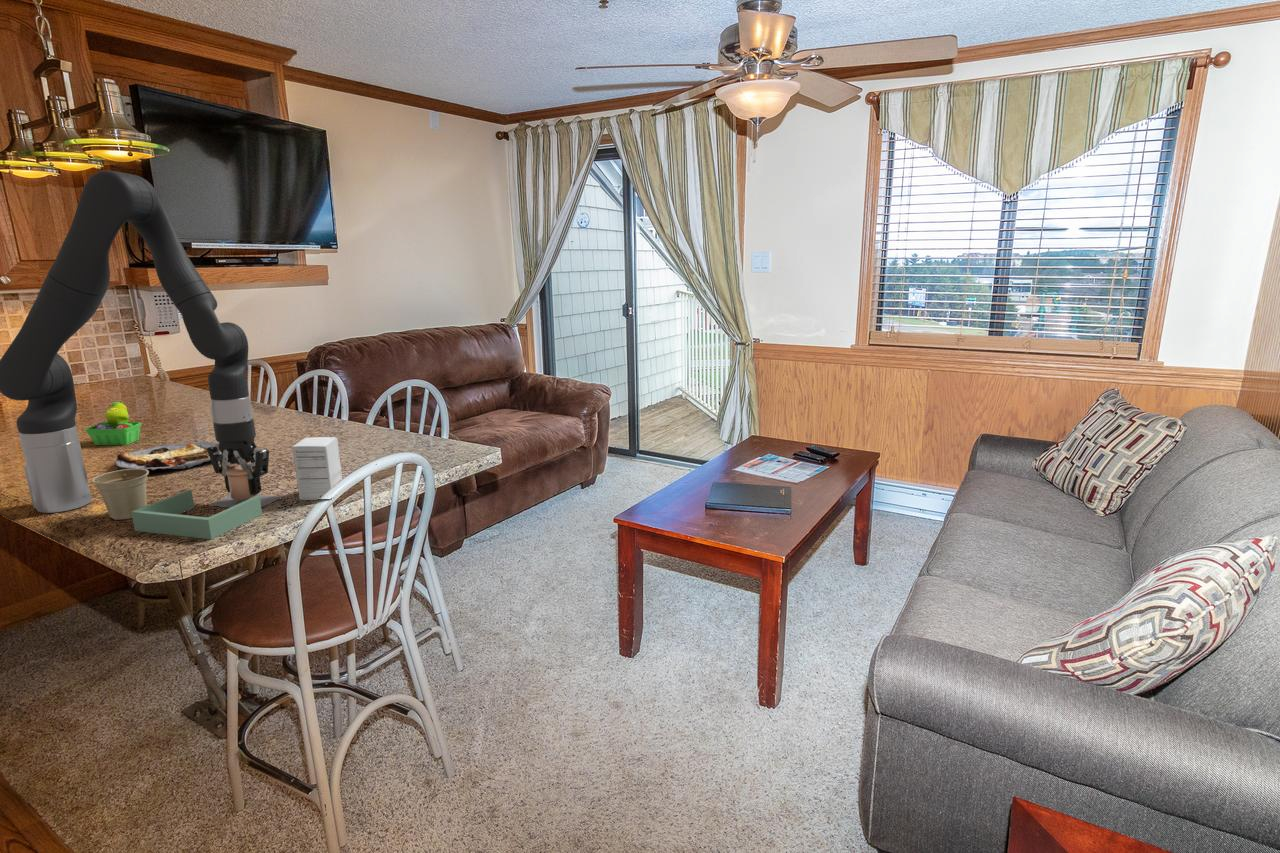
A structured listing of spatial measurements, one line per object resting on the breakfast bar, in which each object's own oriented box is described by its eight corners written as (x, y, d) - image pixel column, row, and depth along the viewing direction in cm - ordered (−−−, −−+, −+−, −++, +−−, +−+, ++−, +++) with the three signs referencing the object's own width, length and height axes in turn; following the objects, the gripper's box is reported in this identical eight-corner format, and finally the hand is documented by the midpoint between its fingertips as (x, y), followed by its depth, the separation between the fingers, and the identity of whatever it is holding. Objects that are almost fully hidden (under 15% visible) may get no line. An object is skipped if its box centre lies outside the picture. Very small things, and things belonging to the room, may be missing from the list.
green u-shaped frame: (134, 530, 133) (131, 511, 132) (190, 507, 146) (187, 489, 145) (211, 539, 129) (208, 520, 128) (262, 514, 142) (259, 496, 141)
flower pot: (99, 527, 135) (90, 486, 133) (100, 512, 142) (92, 473, 140) (156, 516, 140) (149, 477, 138) (155, 503, 148) (148, 465, 145)
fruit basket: (86, 446, 190) (78, 407, 187) (109, 438, 198) (101, 400, 196) (128, 446, 190) (120, 407, 187) (149, 438, 199) (142, 400, 196)
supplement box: (311, 489, 157) (304, 436, 154) (344, 488, 157) (338, 436, 154) (298, 500, 150) (291, 445, 147) (332, 500, 150) (326, 445, 147)
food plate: (133, 482, 161) (131, 467, 160) (101, 464, 174) (99, 451, 174) (245, 460, 180) (243, 447, 179) (208, 446, 194) (206, 434, 193)
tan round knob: (222, 498, 146) (218, 472, 145) (243, 489, 152) (239, 464, 150) (245, 501, 145) (241, 474, 144) (265, 491, 151) (262, 466, 149)
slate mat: (208, 505, 146) (207, 505, 146) (237, 493, 154) (236, 492, 154) (255, 510, 144) (255, 509, 144) (282, 497, 151) (282, 497, 151)
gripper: (190, 419, 142) (202, 495, 146) (248, 424, 139) (259, 501, 143) (219, 411, 149) (230, 484, 153) (274, 415, 146) (284, 489, 150)
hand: (244, 492), depth 148 cm, fingers closed on tan round knob, 5 cm apart
